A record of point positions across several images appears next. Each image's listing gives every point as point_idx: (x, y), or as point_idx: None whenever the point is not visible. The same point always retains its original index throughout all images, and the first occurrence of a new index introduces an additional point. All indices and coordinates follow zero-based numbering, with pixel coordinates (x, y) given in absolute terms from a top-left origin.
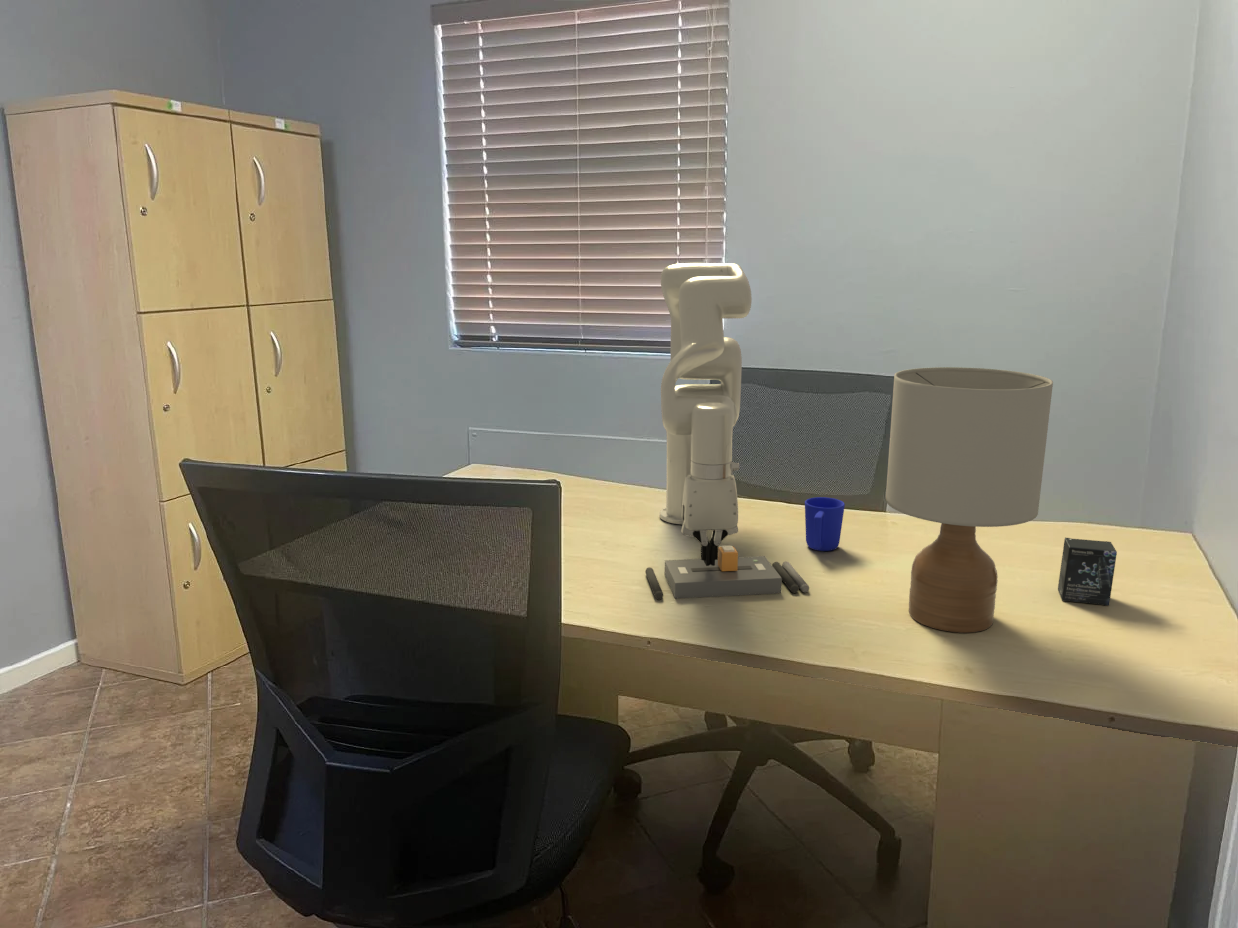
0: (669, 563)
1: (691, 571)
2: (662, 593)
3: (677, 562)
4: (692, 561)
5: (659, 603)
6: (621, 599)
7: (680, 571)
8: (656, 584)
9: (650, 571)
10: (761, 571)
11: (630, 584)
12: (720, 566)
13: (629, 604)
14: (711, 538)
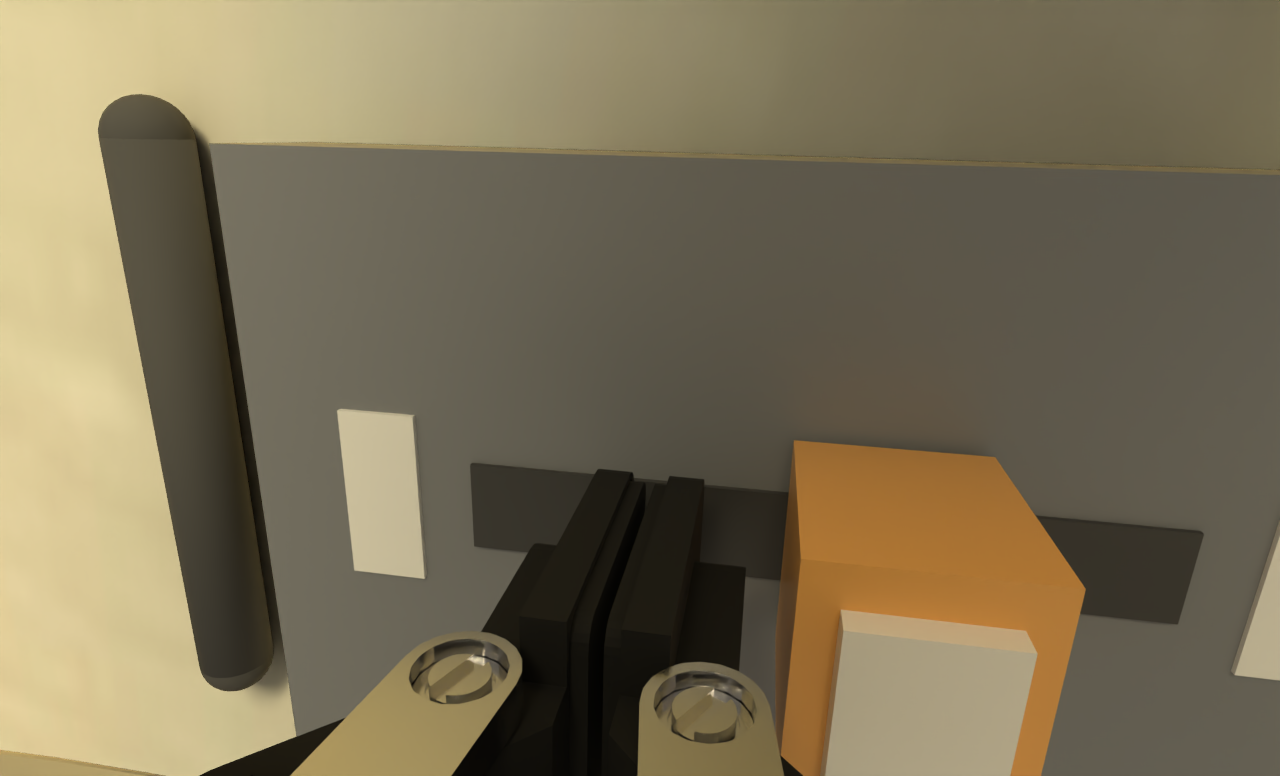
0: (260, 263)
1: (467, 535)
2: (251, 680)
3: (348, 247)
4: (524, 244)
5: (262, 696)
6: (20, 579)
7: (357, 523)
8: (194, 558)
9: (131, 250)
10: (1245, 703)
11: (44, 325)
12: (781, 588)
13: (79, 663)
14: (626, 767)
